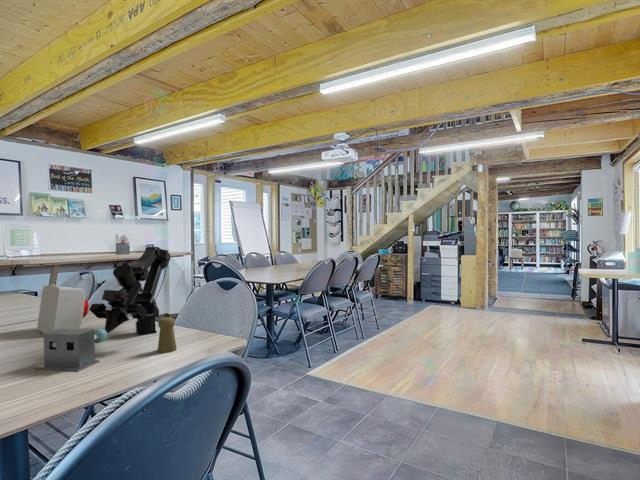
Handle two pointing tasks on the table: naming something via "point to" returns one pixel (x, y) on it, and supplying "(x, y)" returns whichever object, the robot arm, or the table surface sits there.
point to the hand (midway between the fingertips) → (106, 332)
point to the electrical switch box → (61, 308)
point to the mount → (69, 350)
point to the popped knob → (100, 335)
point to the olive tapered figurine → (166, 335)
